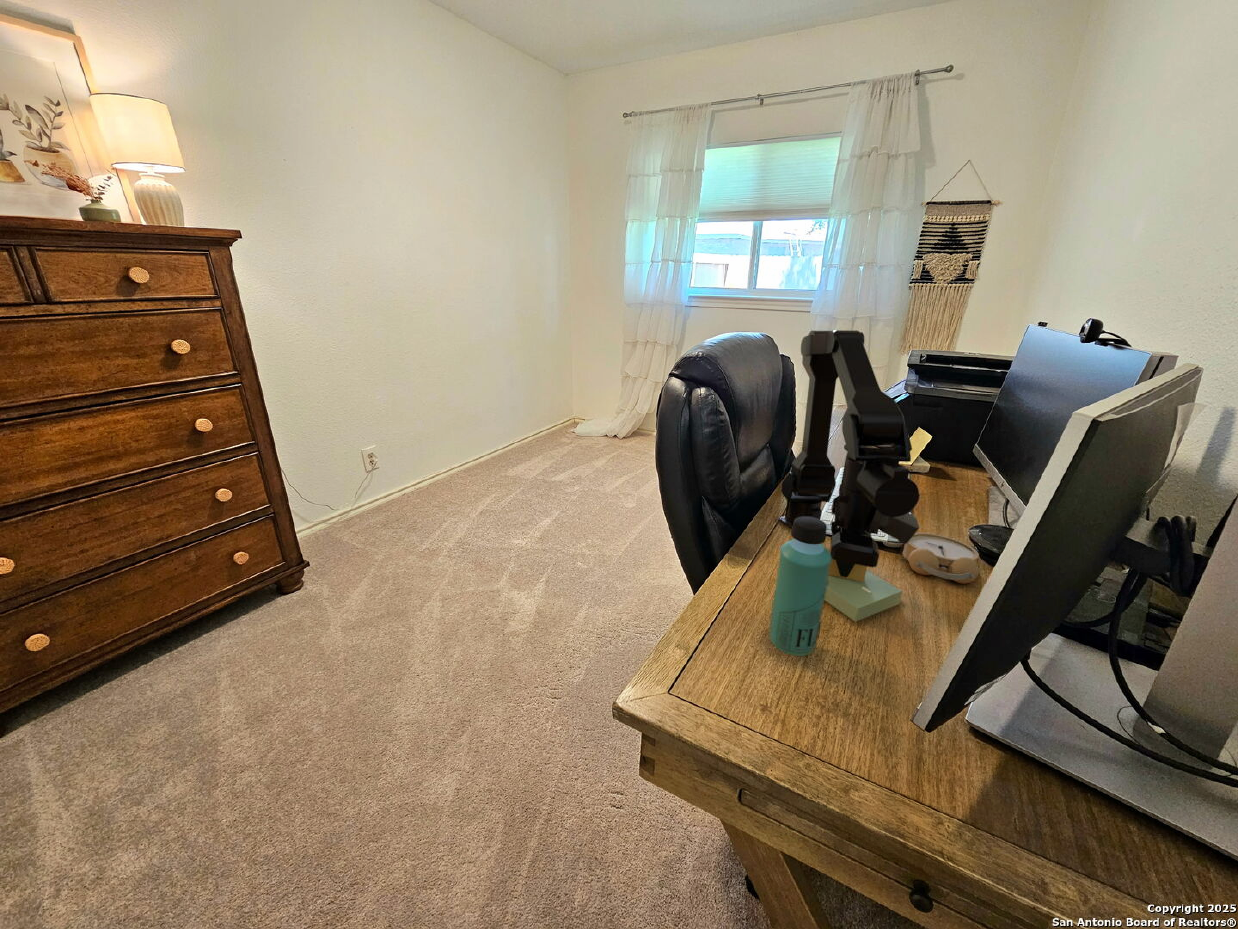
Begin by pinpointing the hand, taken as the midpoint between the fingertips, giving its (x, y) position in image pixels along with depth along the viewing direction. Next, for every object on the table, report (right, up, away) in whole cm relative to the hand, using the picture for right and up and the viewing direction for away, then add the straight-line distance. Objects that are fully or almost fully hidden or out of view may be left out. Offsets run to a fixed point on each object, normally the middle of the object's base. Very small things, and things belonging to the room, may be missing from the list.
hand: (843, 573), depth 80 cm
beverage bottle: (-13, -8, -12) cm, 20 cm away
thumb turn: (0, 0, 0) cm, 0 cm away
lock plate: (0, -3, +1) cm, 3 cm away
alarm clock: (+20, -1, +7) cm, 22 cm away
